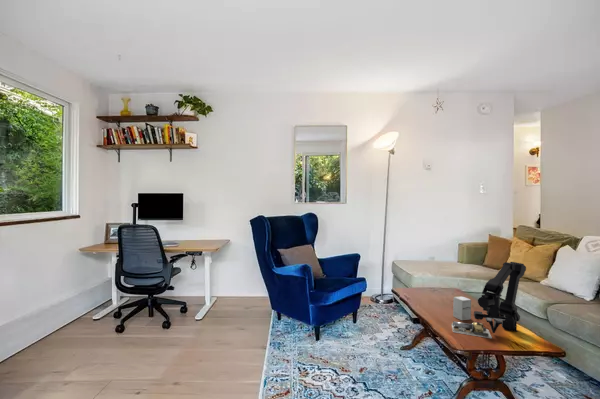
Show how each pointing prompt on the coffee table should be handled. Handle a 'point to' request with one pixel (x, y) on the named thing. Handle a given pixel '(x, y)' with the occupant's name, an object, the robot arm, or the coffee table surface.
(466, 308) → the supplement box
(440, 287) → the coffee table surface
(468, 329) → the pipe run
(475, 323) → the valve
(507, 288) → the robot arm
